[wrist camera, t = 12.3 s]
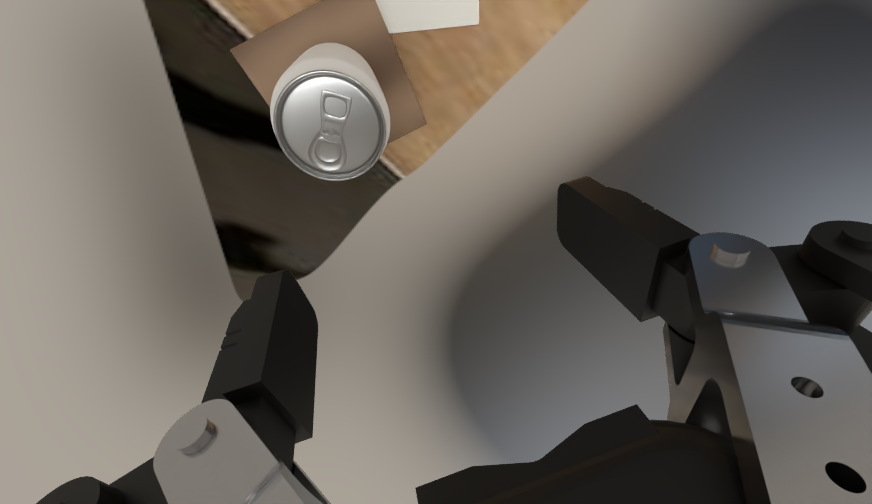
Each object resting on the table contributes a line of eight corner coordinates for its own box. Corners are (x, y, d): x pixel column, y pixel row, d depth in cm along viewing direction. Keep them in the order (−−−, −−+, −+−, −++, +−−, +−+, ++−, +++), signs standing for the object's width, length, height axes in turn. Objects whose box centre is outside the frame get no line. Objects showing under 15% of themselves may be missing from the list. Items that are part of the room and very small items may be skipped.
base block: (242, 45, 27) (229, 49, 24) (363, -19, 27) (365, -24, 23) (321, 162, 34) (319, 177, 31) (419, 113, 33) (427, 123, 30)
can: (289, 118, 27) (260, 174, 18) (297, 28, 24) (267, 38, 15) (368, 138, 30) (379, 198, 20) (385, 58, 26) (408, 84, 17)
